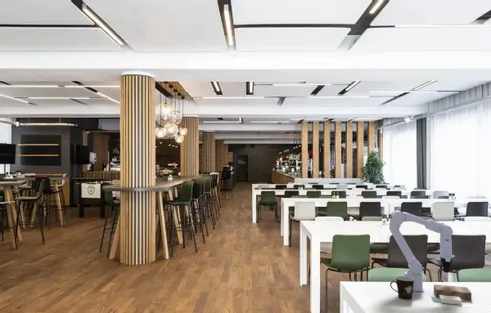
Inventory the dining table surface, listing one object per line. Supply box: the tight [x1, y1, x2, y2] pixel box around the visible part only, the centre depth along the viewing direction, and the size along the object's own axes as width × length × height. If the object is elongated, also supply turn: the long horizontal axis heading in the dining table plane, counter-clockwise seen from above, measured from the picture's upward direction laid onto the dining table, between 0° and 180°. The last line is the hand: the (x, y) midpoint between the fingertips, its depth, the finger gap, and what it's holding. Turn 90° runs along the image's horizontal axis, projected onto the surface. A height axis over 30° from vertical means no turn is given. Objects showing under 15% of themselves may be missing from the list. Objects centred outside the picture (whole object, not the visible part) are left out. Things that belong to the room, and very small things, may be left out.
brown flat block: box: [433, 283, 473, 302], centre depth 203 cm, size 16×10×4 cm, turn 71°
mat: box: [430, 296, 441, 304], centre depth 195 cm, size 11×8×1 cm
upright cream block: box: [439, 295, 463, 306], centre depth 193 cm, size 9×6×2 cm, turn 71°
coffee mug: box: [389, 275, 414, 301], centre depth 200 cm, size 12×9×10 cm
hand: (446, 272), depth 210 cm, fingers closed
